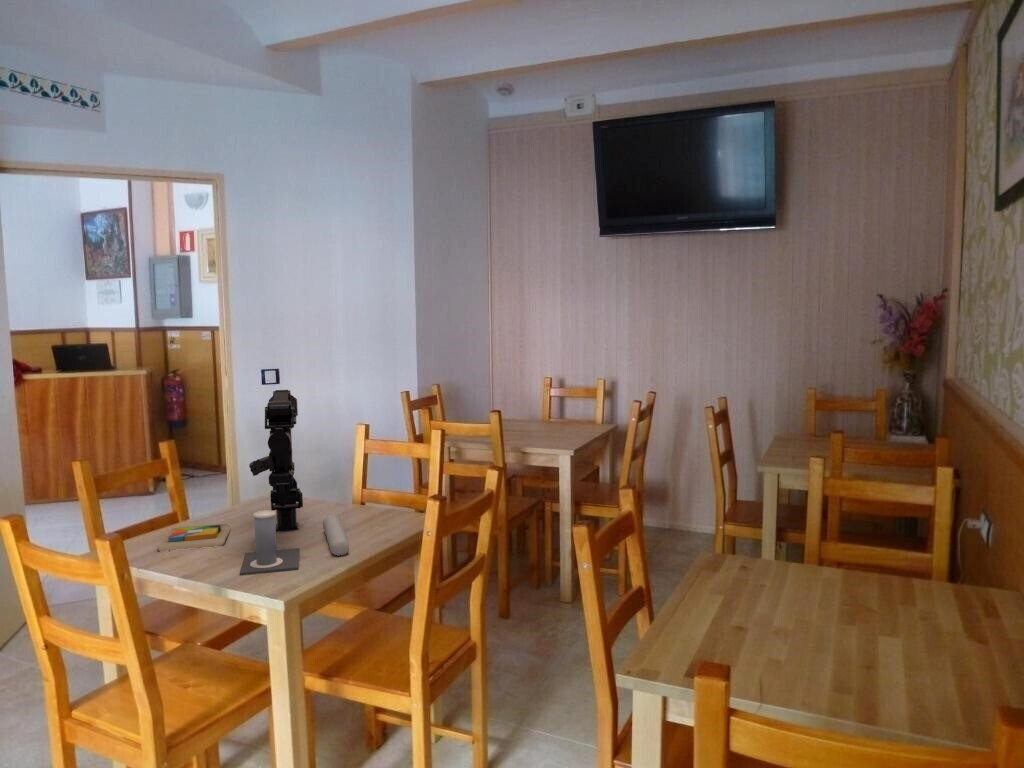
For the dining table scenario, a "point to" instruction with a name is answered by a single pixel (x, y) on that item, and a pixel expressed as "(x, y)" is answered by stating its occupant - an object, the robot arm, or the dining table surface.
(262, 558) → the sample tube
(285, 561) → the mat
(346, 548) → the tube
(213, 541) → the wooden puzzle
